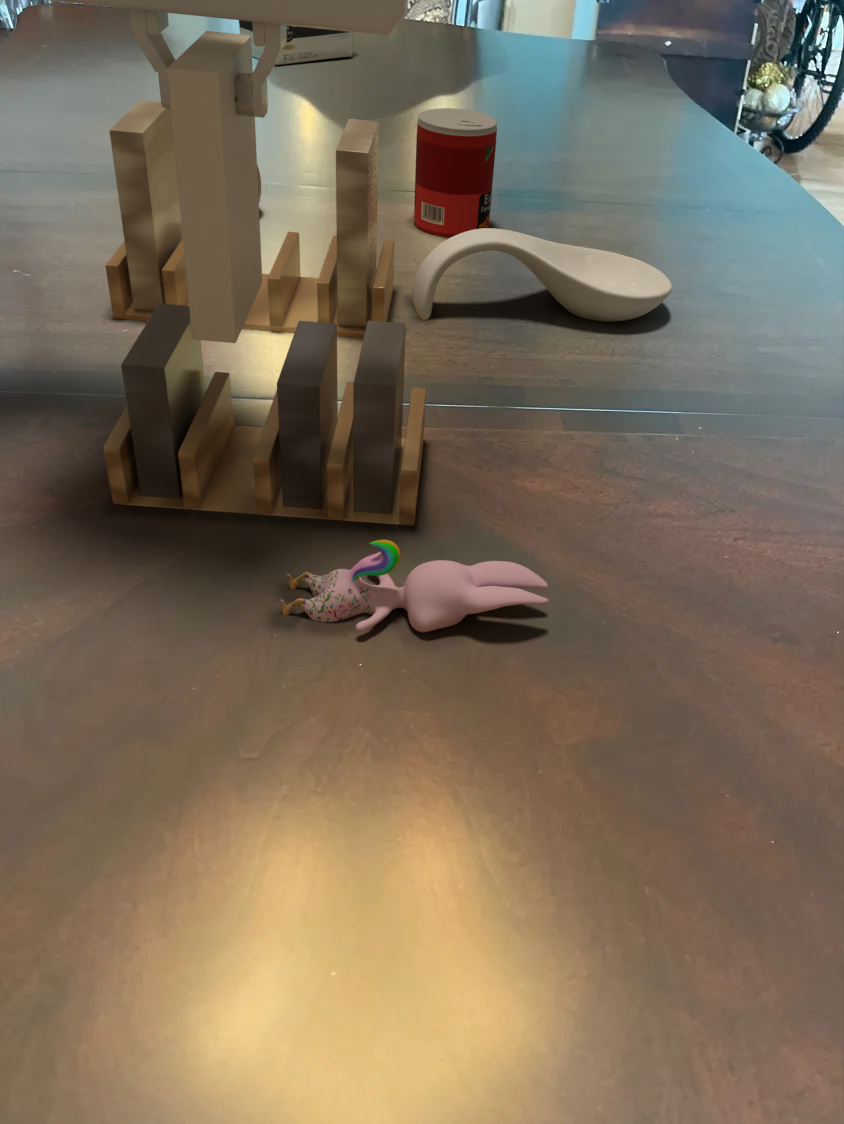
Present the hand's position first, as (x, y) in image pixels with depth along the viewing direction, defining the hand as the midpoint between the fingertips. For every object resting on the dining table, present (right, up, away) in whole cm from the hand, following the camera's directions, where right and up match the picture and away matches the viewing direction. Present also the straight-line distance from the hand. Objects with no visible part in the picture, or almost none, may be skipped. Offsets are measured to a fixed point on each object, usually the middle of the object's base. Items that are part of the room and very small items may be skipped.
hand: (215, 110), depth 56 cm
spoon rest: (+20, +1, +40) cm, 45 cm away
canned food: (+11, +15, +55) cm, 58 cm away
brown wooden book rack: (+1, -18, +15) cm, 23 cm away
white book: (-1, -8, +7) cm, 11 cm away
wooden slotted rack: (-5, +1, +36) cm, 36 cm away
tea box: (-15, +64, +111) cm, 129 cm away
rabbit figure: (+10, -28, +5) cm, 30 cm away
